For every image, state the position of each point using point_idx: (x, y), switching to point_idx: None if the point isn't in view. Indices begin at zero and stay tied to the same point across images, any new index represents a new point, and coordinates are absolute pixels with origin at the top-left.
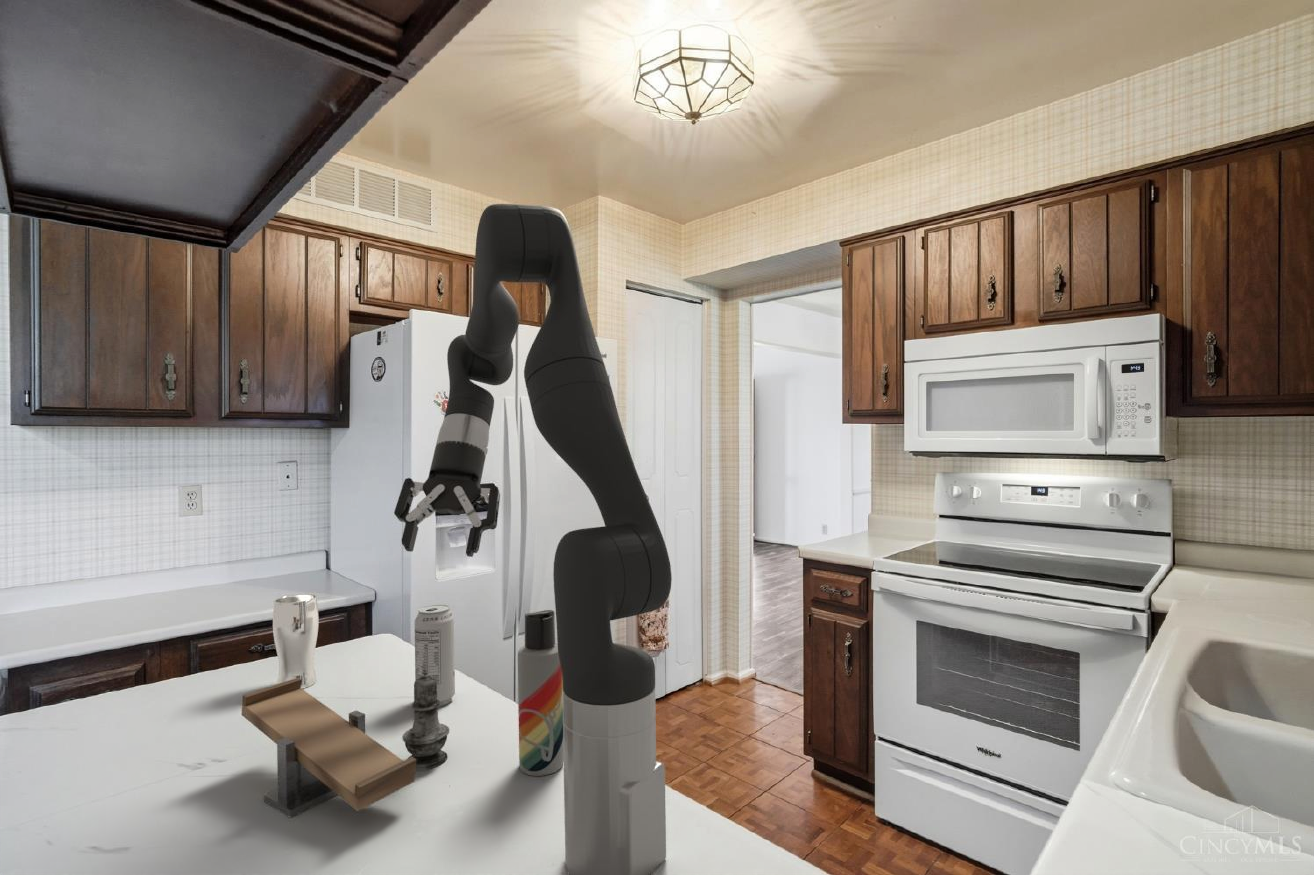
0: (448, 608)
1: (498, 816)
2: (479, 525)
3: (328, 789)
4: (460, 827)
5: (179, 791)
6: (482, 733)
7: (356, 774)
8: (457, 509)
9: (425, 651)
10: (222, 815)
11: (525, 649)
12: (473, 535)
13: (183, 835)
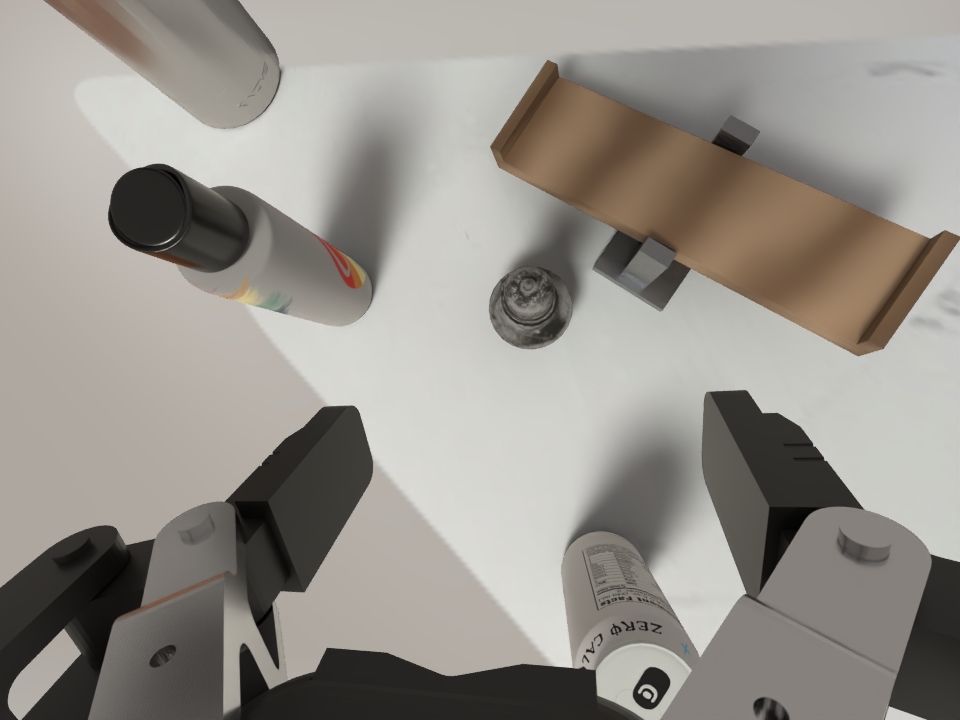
0: None
1: (377, 159)
2: (188, 510)
3: None
4: (421, 133)
5: (917, 218)
6: (462, 410)
7: (577, 116)
8: (320, 662)
9: (630, 576)
10: (786, 153)
11: (249, 219)
12: (271, 463)
13: (811, 104)
